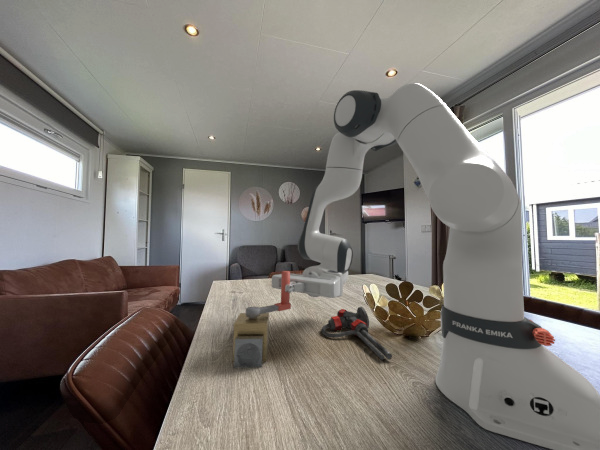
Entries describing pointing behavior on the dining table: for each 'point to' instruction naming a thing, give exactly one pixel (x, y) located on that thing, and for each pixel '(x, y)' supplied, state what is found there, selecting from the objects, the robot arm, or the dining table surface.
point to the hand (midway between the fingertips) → (287, 288)
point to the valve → (355, 329)
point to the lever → (284, 304)
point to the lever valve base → (250, 340)
